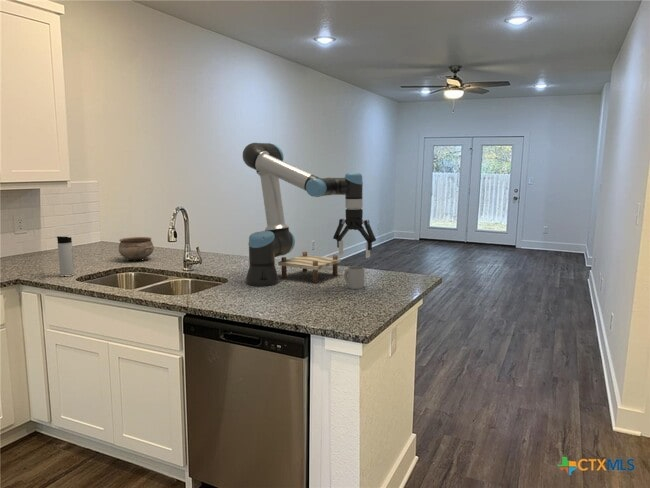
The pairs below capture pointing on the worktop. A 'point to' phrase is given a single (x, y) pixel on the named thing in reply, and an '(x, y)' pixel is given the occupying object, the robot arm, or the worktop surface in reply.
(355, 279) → the cup
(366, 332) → the worktop surface
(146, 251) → the cooking pot
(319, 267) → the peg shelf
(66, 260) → the travel mug
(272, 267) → the robot arm
